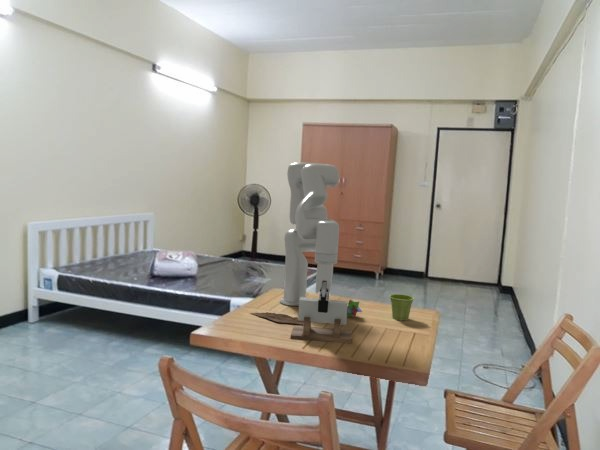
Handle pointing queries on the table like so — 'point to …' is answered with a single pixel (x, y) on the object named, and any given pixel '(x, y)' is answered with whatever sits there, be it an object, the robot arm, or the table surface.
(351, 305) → the geometric puzzle
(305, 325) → the wooden display stand
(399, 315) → the plant pot
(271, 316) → the wooden fragment
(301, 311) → the clay bar
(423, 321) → the table surface
